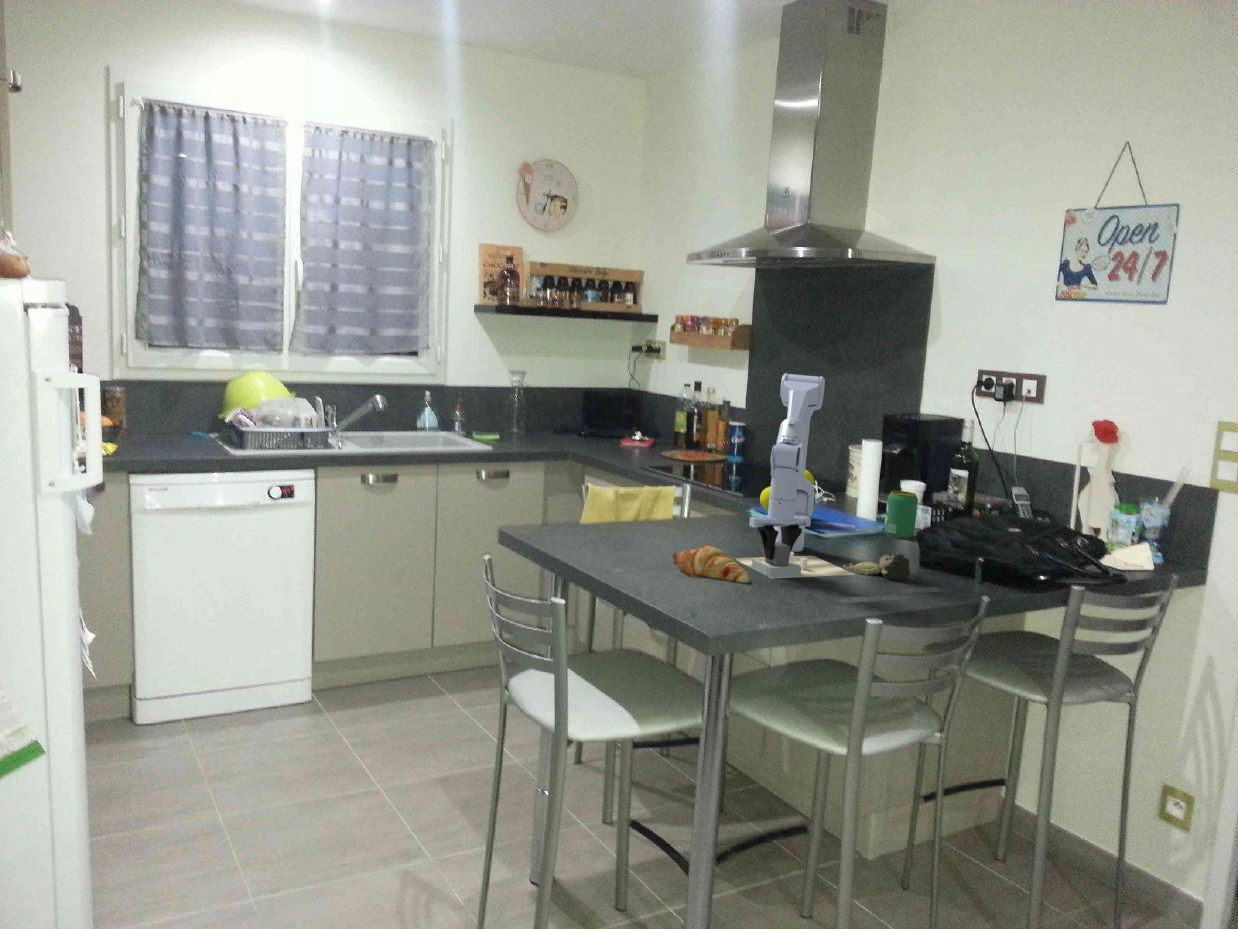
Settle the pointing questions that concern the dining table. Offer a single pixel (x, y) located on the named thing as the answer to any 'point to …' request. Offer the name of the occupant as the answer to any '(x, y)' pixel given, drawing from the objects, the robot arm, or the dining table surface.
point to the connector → (779, 555)
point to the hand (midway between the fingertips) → (776, 558)
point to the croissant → (710, 564)
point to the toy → (766, 492)
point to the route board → (814, 567)
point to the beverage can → (901, 514)
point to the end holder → (776, 569)
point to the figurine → (885, 567)
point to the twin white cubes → (802, 561)
